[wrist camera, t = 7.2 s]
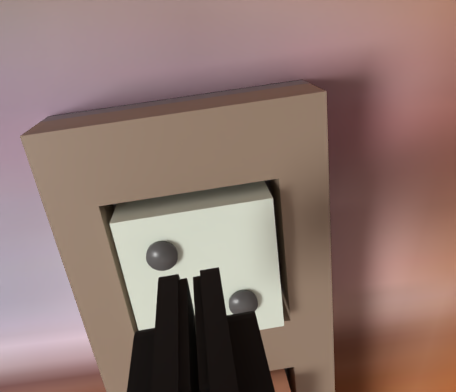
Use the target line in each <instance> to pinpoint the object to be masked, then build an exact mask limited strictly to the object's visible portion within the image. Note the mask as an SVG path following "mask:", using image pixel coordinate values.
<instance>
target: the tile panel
mask: <svg viewBox="0 0 456 392" xmlns="http://www.w3.org/2000/svg"><path fill="white" fill-rule="evenodd" d="M20 138H21V141H22V144H23V147H24V150H25V152H26V155H27V158H28V161H29V164H30V167H31V170H32V173H33V176H34V179H35V182H36V185H37V188H38V191H39V194H40V197H41V200H42V203H43V206H44V209H45V212H46V214H47V217H48V220H49V223H50V226H51V229H52V232H53V235H54V238H55V241H56V244H57V247H58V250H59V253H60V256H61V259H62V262H63V265H64V268H65V271H66V274H67V277H68V279H69V282H70V285H71V288H72V291H73V294H74V297H75V300H76V303H77V306H78V309H79V312H80V315H81V318H82V321H83V324H84V327H85V330H86V333H87V336H88V339H89V341H90V344H91V347H92V350H93V353H94V356H95V359H96V362H97V365H98V368H99V371H100V374H101V377H102V380H103V383H104V386H105V389H106V392H127V386H128V378H129V370H130V362H131V354H132V347H133V339H134V334H135V332H136V331H139V330H138V327H137V323H136V319H135V315H134V312H133V308H132V304H131V301H130V297H129V293H128V290H127V286H126V282H125V279H124V275H123V271H122V268H121V264H120V260H119V257H118V253H117V249H116V246H115V242H114V238H113V235H112V231H111V227H110V221H111V218H112V215H113V213H114V210H115V207H116V205H117V203H123V202H130V201H136V200H143V199H149V198H156V197H162V196H169V195H175V194H181V193H188V192H194V191H201V190H207V189H214V188H220V187H227V186H233V185H240V184H246V183H252V182H259V181H264V182H265V184H266V185H267V187H268V189H269V191H270V193H271V195H272V197H273V205H274V216H275V227H276V238H277V250H278V261H279V272H280V283H281V294H282V306H283V317H284V326H281V327H275V328H269V329H263V330H260V334H261V338H262V342H263V346H264V350H265V354H266V358H267V362H268V366H269V370H270V371H273V370H279V369H284V370H285V373H286V376H287V380H288V383H289V387H290V390H291V392H335V375H334V340H333V304H332V269H331V233H330V198H329V162H328V126H327V91H325V90H323V89H321V88H319V87H317V86H314V85H312V84H310V83H308V82H306V81H304V80H297V81H290V82H283V83H276V84H269V85H262V86H255V87H248V88H241V89H234V90H228V91H221V92H214V93H207V94H200V95H193V96H186V97H179V98H172V99H165V100H158V101H152V102H145V103H138V104H131V105H124V106H117V107H110V108H103V109H96V110H89V111H82V112H76V113H69V114H62V115H55V116H48V117H47V118H45V119H44V120H43V121H41V122H40V123H38V124H37V125H35V126H34V127H32V128H31V129H30V130H28V131H27V132H25V133H24V134H22V135H21V136H20Z"/></svg>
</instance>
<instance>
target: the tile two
mask: <svg viewBox="0 0 456 392" xmlns="http://www.w3.org/2000/svg"><path fill="white" fill-rule="evenodd" d="M110 227H111V231H112V235H113V238H114V242H115V246H116V249H117V253H118V257H119V260H120V264H121V268H122V271H123V275H124V279H125V282H126V286H127V290H128V293H129V297H130V301H131V304H132V308H133V312H134V315H135V319H136V323H137V327H138V330H145V329H151V328H155V319H156V304H157V289H158V278H159V277H163V276H169V275H175V274H179V277H180V279H184V278H187V280H188V284H189V289H190V294H191V299H192V304H193V309H194V314H195V307H194V290H193V277H196V276H200V270H205V269H211V268H217V267H219V270H220V276H221V283H222V289H223V295H224V302H225V308H226V314H227V315H232V314H237V313H243V312H249V311H255V314H256V318H257V322H258V326H259V330H263V329H269V328H275V327H281V326H284V317H283V306H282V294H281V283H280V272H279V261H278V250H277V238H276V227H275V216H274V205H273V197H272V195H271V193H270V191H269V189H268V187H267V185H266V184H265V182H264V181H259V182H252V183H246V184H240V185H233V186H227V187H220V188H214V189H207V190H201V191H194V192H188V193H181V194H175V195H169V196H162V197H156V198H149V199H143V200H136V201H130V202H123V203H117V205H116V207H115V210H114V213H113V215H112V218H111V221H110Z"/></svg>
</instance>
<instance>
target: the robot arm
mask: <svg viewBox="0 0 456 392" xmlns="http://www.w3.org/2000/svg"><path fill="white" fill-rule="evenodd" d="M193 290H194V307H195V314H194V309H193V304H192V299H191V294H190V289H189V284H188V280H187V278H184V279H180V277H179V274H175V275H169V276H163V277H159V278H158V289H157V304H156V319H155V328H151V329H145V330H139V331H136V332H135V334H134V339H133V347H132V354H131V362H130V370H129V378H128V386H127V392H275V390H274V386H273V382H272V378H271V374H270V370H269V366H268V362H267V358H266V354H265V350H264V346H263V342H262V338H261V334H260V330H259V326H258V322H257V318H256V314H255V311H249V312H243V313H237V314H232V315H227V314H226V308H225V302H224V295H223V289H222V283H221V276H220V270H219V267H217V268H211V269H205V270H200V276H196V277H193Z"/></svg>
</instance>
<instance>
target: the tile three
mask: <svg viewBox="0 0 456 392" xmlns="http://www.w3.org/2000/svg"><path fill="white" fill-rule="evenodd" d="M270 374H271V378H272V382H273V386H274V390H275V392H291V390H290V387H289V383H288V380H287V376H286V373H285V370H284V369H279V370H273V371H270Z"/></svg>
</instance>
